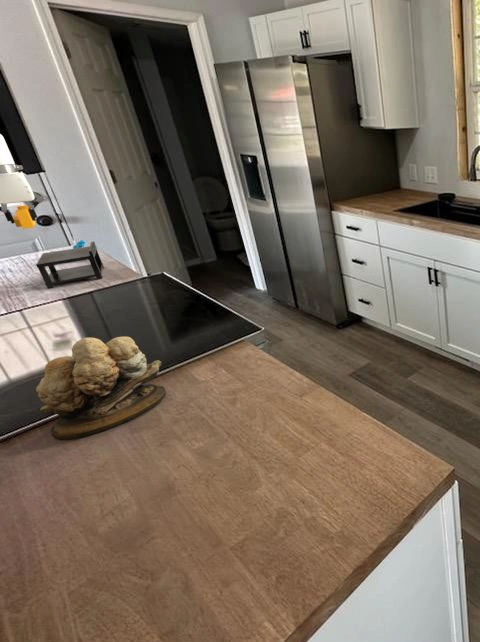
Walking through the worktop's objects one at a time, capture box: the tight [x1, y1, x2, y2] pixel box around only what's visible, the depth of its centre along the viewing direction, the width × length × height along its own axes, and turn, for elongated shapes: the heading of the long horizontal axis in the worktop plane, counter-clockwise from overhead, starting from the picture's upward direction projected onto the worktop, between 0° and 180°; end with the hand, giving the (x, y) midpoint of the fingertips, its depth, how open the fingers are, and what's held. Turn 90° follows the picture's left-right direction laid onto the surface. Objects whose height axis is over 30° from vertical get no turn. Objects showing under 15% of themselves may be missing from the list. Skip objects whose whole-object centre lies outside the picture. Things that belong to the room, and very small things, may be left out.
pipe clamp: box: [13, 204, 36, 230], centre depth 148 cm, size 12×4×6 cm, turn 46°
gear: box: [72, 239, 89, 261], centre depth 169 cm, size 11×6×10 cm
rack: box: [36, 240, 105, 290], centre depth 149 cm, size 14×16×11 cm
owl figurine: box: [35, 336, 167, 441], centre depth 79 cm, size 18×12×17 cm, turn 137°
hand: (23, 221), depth 148 cm, fingers closed on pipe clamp, 4 cm apart
